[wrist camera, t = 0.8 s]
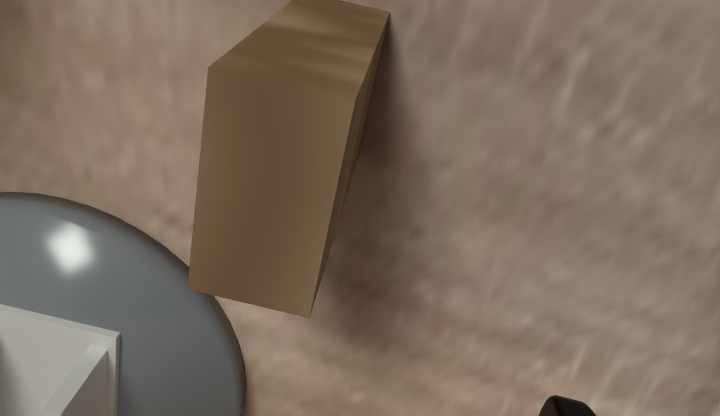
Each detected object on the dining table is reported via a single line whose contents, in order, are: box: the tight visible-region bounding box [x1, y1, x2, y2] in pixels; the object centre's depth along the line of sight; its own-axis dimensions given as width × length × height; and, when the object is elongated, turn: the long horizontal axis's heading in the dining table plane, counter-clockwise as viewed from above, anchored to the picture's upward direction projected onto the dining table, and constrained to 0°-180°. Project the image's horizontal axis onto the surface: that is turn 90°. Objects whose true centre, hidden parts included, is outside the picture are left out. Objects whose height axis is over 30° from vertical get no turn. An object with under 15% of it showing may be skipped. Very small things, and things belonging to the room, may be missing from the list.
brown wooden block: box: [187, 0, 390, 318], centre depth 15 cm, size 2×4×8 cm, turn 168°
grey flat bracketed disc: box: [0, 192, 246, 416], centre depth 22 cm, size 14×14×4 cm
